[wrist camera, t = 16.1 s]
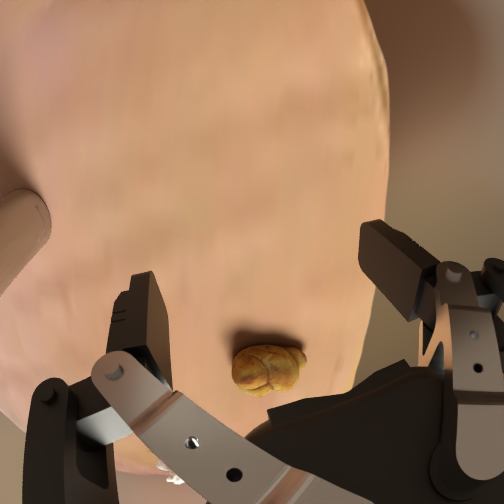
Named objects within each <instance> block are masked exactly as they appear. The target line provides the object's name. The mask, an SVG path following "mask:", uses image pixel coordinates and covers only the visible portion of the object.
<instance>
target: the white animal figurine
mask: <svg viewBox="0 0 504 504" xmlns="http://www.w3.org/2000/svg"><path fill="white" fill-rule="evenodd" d="M156 466H157V467H158V468H159V469H161V470H166V471H172V470H171V469H170V468H168V467H167V466H166V465H165V464H164V463H163V462H162V461H161V460H160V459H158V461H157V462H156ZM169 473H170V477H168V478H167V480H166V481H167V482H169V481H170V482H174V483H175V484H181V482H182V483H184V481H183V480H182V479H181V478H180V477H178V476H177V475H176V474H175V473H174V472H173V471H172V473H171V472H169Z"/></svg>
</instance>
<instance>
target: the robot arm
mask: <svg viewBox="0 0 504 504" xmlns="http://www.w3.org/2000/svg"><path fill="white" fill-rule="evenodd" d="M50 233H51V219H50V215H49V212H48V209H47V207H46V205H45V204H44V202H43V201H42V200H41V198H40V197H39V196H38V195H36V194H35V193H34V192H32V191H30V190H27V189H17V190H15V191H13V192H11V193H10V194H8V195H6V196H5V197H3V198H2V199H0V296H1V295H2V294H3V293H4V291H5V290H6V289H7V287H8V286H9V285H10V284H11V282H12V281H13V280H14V279H15V278H16V276H17V275H18V274H19V273H20V272H21V270H22V269H23V268H24V267H25V266H26V265H27V263H28V262H29V261H30V260H31V259H32V258H33V257H34V256H35V254H36V253H37V252H38V251H39V250H40V249H41V248H42V247H43V246H44V245H45V244H46V242H47V240H48V239H49V236H50ZM358 261H359V265H360V268H361V269H362V271H363V272H364V273H365V274H366V276H367V277H368V278H369V279H370V280H371V281H372V282H373V283H374V284H375V285H376V286H377V287H378V289H379V290H380V291H381V292H382V293H383V294H384V295H385V296H386V298H387V299H388V300H389V301H390V302H391V303H392V304H393V305H394V307H395V308H396V309H397V310H398V311H399V312H400V313H401V314H402V316H403V317H404V318H405V319H406V320H407V322H410V321H412V320H415V319H417V318H419V317H420V319H421V323H420V327H419V361H418V367H410V366H409V365H408V363H407V362H406V361H405V359H403V360H401V361H399V362H396V363H394V364H392V365H390V366H388V367H386V368H383V369H381V370H378V371H376V372H374V373H373V374H372V375H370V376H369V377H368V378H367V379H365V380H364V381H363V382H361V383H360V384H358V385H357V386H356V387H354V388H353V389H351V390H350V391H348V392H346V393H344V394H337V395H330V396H322V397H313V398H304V399H301V400H298V401H295V402H292V403H288V404H285V405H282V406H278V407H275V408H271V409H268V410H267V413H268V419H269V420H267V421H266V422H264V423H262V424H260V425H259V426H258V427H256V428H255V429H253V430H252V431H251V432H250V433H249V434H248V435H247V436H246V437H245V438H243V437H242V436H240V435H239V434H237V433H236V432H234V431H233V430H231V429H230V428H228V427H227V426H225V425H224V424H223V423H221V422H220V421H218V420H217V419H216V418H214V417H213V416H212V415H210V414H209V413H207V412H206V411H205V410H203V409H202V408H201V407H199V406H198V405H197V404H196V403H194V402H193V401H192V400H190V399H189V398H188V397H187V396H185V395H184V394H183V393H181V392H179V391H177V390H176V391H175V392H173V385H172V373H171V359H170V343H169V322H168V314H167V310H166V306H165V303H164V301H163V298H162V295H161V293H160V290H159V287H158V284H157V282H156V279H155V276H154V274H153V272H152V271H148V272H144V273H139V274H135V275H132V276H131V281H130V287H129V290H128V291H123V292H121V293H120V295H119V296H118V298H117V299H116V300H115V302H114V306H113V312H112V313H113V315H112V317H111V324H110V329H109V335H108V342H107V348H106V354H105V355H104V356H102V357H101V358H100V359H98V360H97V362H96V363H95V364H94V366H93V368H92V371H91V376H90V377H88V378H86V379H84V380H82V381H79V382H77V383H75V384H73V385H70V386H68V385H67V384H66V383H65V382H64V381H63V380H62V379H60V378H49V379H47V380H45V381H43V382H42V383H40V384H39V385H38V386H37V388H36V389H35V391H34V393H33V395H32V399H31V405H30V411H29V418H28V425H27V432H26V442H25V451H24V464H23V487H22V488H23V489H22V502H23V503H22V504H119V499H118V492H117V483H116V474H115V462H114V448H113V442H114V441H117V440H119V439H122V438H124V437H126V436H129V435H131V434H133V433H135V434H136V436H137V437H138V438H139V439H140V440H141V441H142V442H143V443H144V444H145V445H146V446H147V447H148V448H149V449H150V450H151V451H152V452H153V453H154V454H155V455H156V456H157V457H158V458H159V459H160V460H161V461H162V462H163V463H164V464H165V465H166V466H167V467H168V468H170V469H171V470H172V471H173V472H174V473H175V474H176V475H177V476H178V477H180V478H181V479H182V480H183V481H184V482H185V483H186V484H188V485H189V486H190V487H191V488H192V489H193V490H195V491H196V492H197V493H198V494H200V495H201V496H202V497H203V498H205V499H206V500H207V502H206V504H504V383H503V375H502V372H503V373H504V322H503V321H502V320H501V319H500V318H499V317H498V316H497V314H498V312H499V310H500V308H501V305H502V303H503V302H504V261H502V260H500V259H497V258H488V259H486V260H485V262H484V265H483V267H482V271H474V272H470V271H469V270H468V269H467V268H466V267H465V266H463V265H462V264H460V263H457V262H453V261H444V262H440V261H439V260H437V259H436V258H435V257H434V256H432V255H431V254H430V253H429V252H427V251H426V250H425V249H424V248H422V247H421V246H419V244H417V243H416V242H415V241H412V239H411V238H410V237H408V236H407V235H406V234H404V233H403V232H400V231H397V230H395V229H393V228H392V227H390V226H389V225H387V224H386V223H385V222H384V221H382V220H380V219H377V220H373V221H369V222H364V223H362V224H361V227H360V239H359V253H358Z"/></svg>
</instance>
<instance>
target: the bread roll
mask: <svg viewBox="0 0 504 504" xmlns="http://www.w3.org/2000/svg"><path fill="white" fill-rule="evenodd" d="M306 362H307V359H306V356H305V354H304V353H303V352H302V351H301V350H299V349H297V348H294V347H283V348H282V347H280V346H275V345H266V344H265V345H260V344H259V345H255V346H250V347H247V348H244V349H243V350H242V351H240V352H239V353H238V354H237V356H236V357H235V359H234V360H233V362H232V379H233V380H234V383H235V384H236V385H237V387H238V388H239V389H240V390H241V391H243V392H244V393H246V394H249V395H253V396H257V397H261V396H264V395H265V394H267V393H269V392H270V391H272V390H274V391H278V392H283V391H287V390H290V389H292V387H293V386H294V385H295V383H296V382H297V380H298V378H299V372H300V371H301V370H302V369H303V368H304V367H305V365H306Z"/></svg>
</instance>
